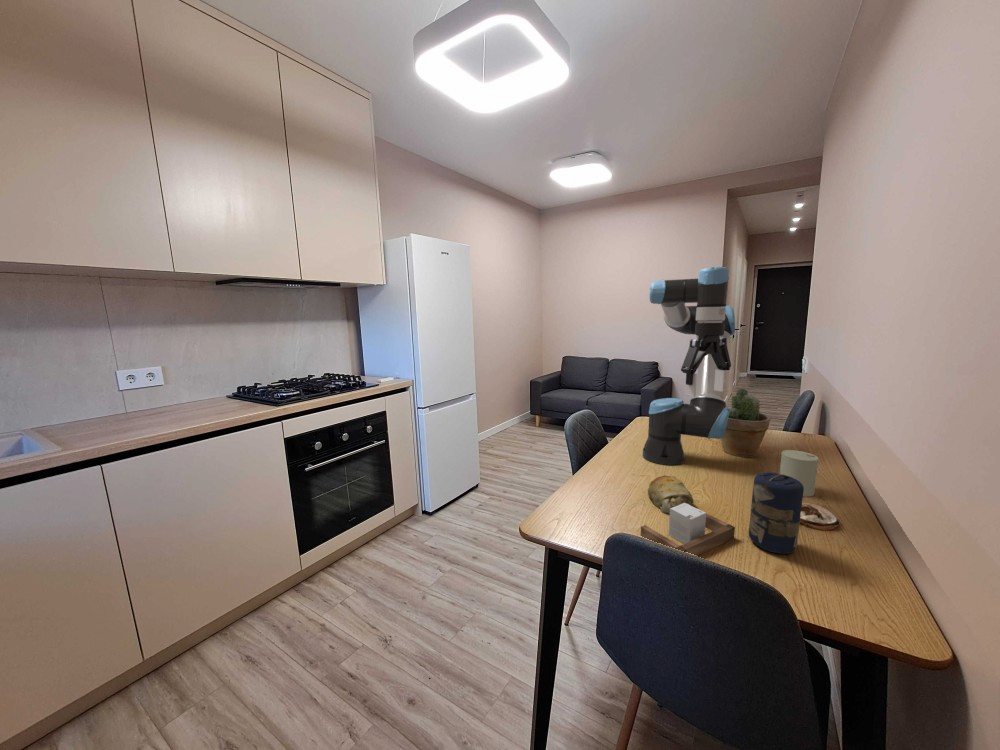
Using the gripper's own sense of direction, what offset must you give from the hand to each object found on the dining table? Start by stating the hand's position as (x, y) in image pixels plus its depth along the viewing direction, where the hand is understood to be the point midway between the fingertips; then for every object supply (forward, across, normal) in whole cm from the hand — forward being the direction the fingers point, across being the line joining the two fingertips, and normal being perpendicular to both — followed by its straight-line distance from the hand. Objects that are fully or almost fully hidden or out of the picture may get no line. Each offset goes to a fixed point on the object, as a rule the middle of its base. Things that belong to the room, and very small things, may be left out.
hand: (705, 393), depth 114 cm
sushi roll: (+32, +12, -24) cm, 42 cm away
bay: (+32, -25, -14) cm, 43 cm away
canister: (+32, -10, -26) cm, 42 cm away
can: (+32, +28, -14) cm, 45 cm away
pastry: (+32, -14, 0) cm, 35 cm away
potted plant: (+32, +46, +14) cm, 58 cm away
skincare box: (+32, -25, -14) cm, 43 cm away
